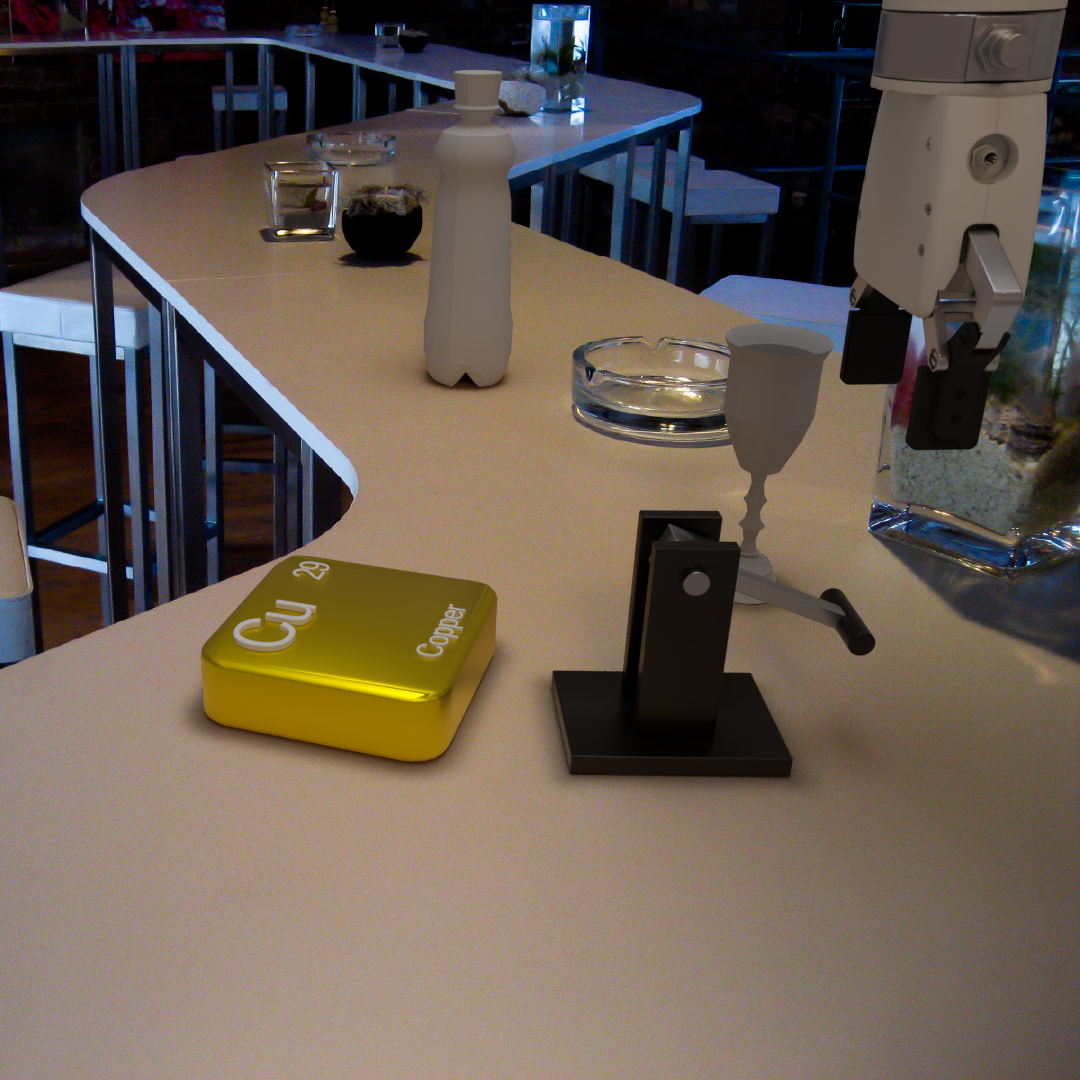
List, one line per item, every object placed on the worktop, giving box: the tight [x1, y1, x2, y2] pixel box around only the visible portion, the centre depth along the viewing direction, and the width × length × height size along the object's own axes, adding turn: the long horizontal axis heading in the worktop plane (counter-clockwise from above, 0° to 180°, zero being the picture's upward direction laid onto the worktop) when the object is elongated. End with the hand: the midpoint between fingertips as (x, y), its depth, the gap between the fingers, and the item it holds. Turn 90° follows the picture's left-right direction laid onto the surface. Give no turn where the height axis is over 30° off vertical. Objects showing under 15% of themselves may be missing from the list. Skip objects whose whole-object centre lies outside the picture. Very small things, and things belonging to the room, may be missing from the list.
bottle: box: [423, 69, 517, 388], centre depth 125 cm, size 9×9×30 cm
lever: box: [649, 524, 877, 657], centre depth 69 cm, size 12×5×2 cm, turn 90°
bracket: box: [551, 509, 794, 778], centre depth 70 cm, size 12×9×13 cm
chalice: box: [723, 323, 835, 605], centre depth 85 cm, size 7×7×18 cm
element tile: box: [200, 554, 498, 763], centre depth 77 cm, size 15×15×5 cm
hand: (902, 413), depth 64 cm, fingers open, 9 cm apart
